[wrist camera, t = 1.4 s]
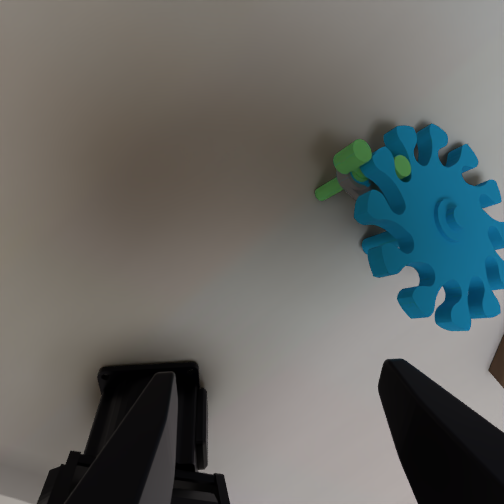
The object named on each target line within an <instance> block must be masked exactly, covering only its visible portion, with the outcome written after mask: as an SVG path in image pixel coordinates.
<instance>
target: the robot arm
mask: <svg viewBox="0 0 504 504" xmlns="http://www.w3.org/2000/svg"><path fill="white" fill-rule="evenodd" d="M190 369H192V371H191V370H190ZM104 374H106V375H104ZM97 378H98V382H99V386H100V391H101V395H102V396H101V399H100V403H99V406H98V409H97V412H96V415H95V419H94V422H93V425H92V428H91V432H90V435H89V438H88V441H87V445H86V448H85V451H84V454H80V453H81V452H76V451H70V454H69V456H68V459H67V462H66V465H64V464H61V466H60V467H57V468H54V469H52V470H50V471H49V473H48V476H47V479H46V481H45V484H44V487H43V489H42V492H41V495H40V497H39V500H38V502H37V504H230V501H229V497H228V492H227V488H226V483H225V478H224V475H223V474H217V473H214V474H206V473H200V472H198V470H203V469H205V468H206V467H207V465H208V408H207V391H206V390H205V389H204V388H200V379H199V367H198V365H197V364H196V363H194V362H186V363H168V364H151V365H133V366H115V367H103V368H101V369H100V370H99V373H98V376H97ZM378 391H379V396H380V399H381V402H382V405H383V409H384V412H385V415H386V418H387V422H388V425H389V428H390V431H391V435H392V438H393V441H394V444H395V448H396V450H397V453H398V456H399V459H400V462H401V464H402V467H403V469H404V472H405V474H406V476H407V479H408V481H409V483H410V486H411V488H412V490H413V493H414V495H415V498H416V500H417V502H418V504H504V433H503V432H502V431H501V430H499V429H498V428H497V427H495V426H494V425H493V424H491V423H490V422H488V421H487V420H486V419H484V418H483V417H482V416H480V415H479V414H478V413H476V412H475V411H474V410H472V409H471V408H469V407H468V406H467V405H465V404H464V403H463V402H461V401H460V400H459V399H457V398H456V397H454V396H453V395H452V394H450V393H449V392H448V391H446V390H445V389H444V388H442V387H441V386H440V385H438V384H437V383H435V382H434V381H433V380H431V379H430V378H429V377H427V376H426V375H425V374H423V373H422V372H420V371H419V370H418V369H416V368H415V367H414V366H412V365H411V364H410V363H408V362H407V361H405V360H404V359H387V360H385V361H384V363H383V367H382V371H381V375H380V379H379V383H378Z"/></svg>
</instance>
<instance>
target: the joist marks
mask: <svg viewBox="0 0 504 504" xmlns="http://www.w3.org/2000/svg"><path fill="white" fill-rule="evenodd" d="M489 372H490V373H491V374H492V375H493V376H494V378H495V379H496V380H497V381H498V382H499V383H500V384H501V386H502V387H503V388H504V336H503V338H502V341H501V343H500V345H499V348H498V350H497V352H496V355H495V357H494V359H493V362H492V364H491V366H490V369H489Z"/></svg>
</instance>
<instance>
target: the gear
mask: <svg viewBox="0 0 504 504" xmlns="http://www.w3.org/2000/svg"><path fill="white" fill-rule="evenodd" d="M384 143H385V146H386V147H385V146H384V147H381V148H380V149H378V150H376V151H375V152H373V153H372V152H371V148H370V146H369V145H368V144H367V143H366V142H365V141H364V140H361V139H358V140H355V141H354V142H353V143H351V144H350V145H348V146H347V147H345V148H344V149H342V150H341V151H340V152H338V153H337V154H335V156H334V158H333V163H334V166H335V168H336V169H337V171H336V178H334V179H332V180H331V181H329V182H327V183H326V184H324V185H322V186H321V187H319V188H317V189H316V191H315V196H316V198H317V199H318V200H320V201H324V200H326V199H327V198H329V197H331V196H333V195H335V194H336V193H338V192H340V191H342V190H345V191H346V192H347V193H348V194H349V195H350V196H351V197H353V198H354V199H355V200H356V204H355V210H354V218H355V220H356V221H357V222H359V223H360V224H362V225H376V226H379V227H381V228H383V229H385V230H386V232H383V233H380V234H377V235H374V236H371V237H368V238H366V239H364V240H363V242H362V248H363V251H364V252H365V253H366V254H367V255H368V260H369V264H370V268H371V271H372V273H373V276H375V277H378V278H380V277H385V276H389V275H394V274H397V273H399V272H400V271H401V270H402V268H403V267H405V266H411V267H413V268H415V269H416V270H417V272H418V274H419V277H420V283H419V286H417V287H411V288H405V289H402V290H401V291H400V292H399V294H398V296H397V300H398V302H399V304H400V306H401V307H402V309H403V310H404V311H405V313H406V314H407V315H408V316H409V317H410V318H424V317H429V316H431V315H432V313H433V311H434V307H435V300H436V296H437V294H438V291H439V290H440V288H441V287H442V286H443V288H444V290H445V294H446V297H445V301H444V302H443V303H442V304H441V305H440V306H439V307H438V308H437V309H436V312H435V322H436V324H437V325H438V326H440V327H441V328H443V329H446V330H449V331H469V329H470V327H471V318H472V319H476V318H491V317H495V316H497V315H498V314H500V305H499V302H498V300H497V298H496V297H495V296H494V294H493V292H492V290H498V289H504V261H503V260H502V259H501V258H500V257H499V255H498V254H497V253H496V251H495V250H497V249H502V248H504V222H498V221H496V220H494V219H492V218H491V217H490V216H489V215H488V214H487V213H486V212H485V211H484V210H483V209H482V208H485V207H488V206H492V205H495V204H498V203H500V202H501V195H500V192H499V189H498V186H497V183H496V181H494V180H488V181H486V182H483V183H480V184H478V185H475V186H473V185H469V184H468V183H466V182H465V180H464V179H463V177H462V173H463V172H466V171H468V170H470V169H473V168H475V167H477V165H478V159H477V157H476V155H475V154H474V152H473V151H472V149H471V148H470V147H469V146H468V144H465V145H463V146H461V147H459V148H457V149H455V150H453V151H451V152H449V153H448V156H447V162H446V165H445V166H443V165H442V164H441V162H440V160H439V158H438V151H439V149H441V148H443V147H445V146H446V145H447V143H448V136H447V134H446V133H445V132H444V131H443V130H442V129H441V128H439V127H438V126H436V125H434V124H430V125H428V126H427V127H425V128H423V129H422V130H420V131H418V132H417V134H416V132H415V130H414V128H413V127H410V126H397V127H395V128H394V129H392V130H391V131H389V132H387V133H386V134H384ZM416 143H417V145H418V162H417V161H416V159H415V157H414V148H415V146H416ZM397 247H399V248H397Z"/></svg>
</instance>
